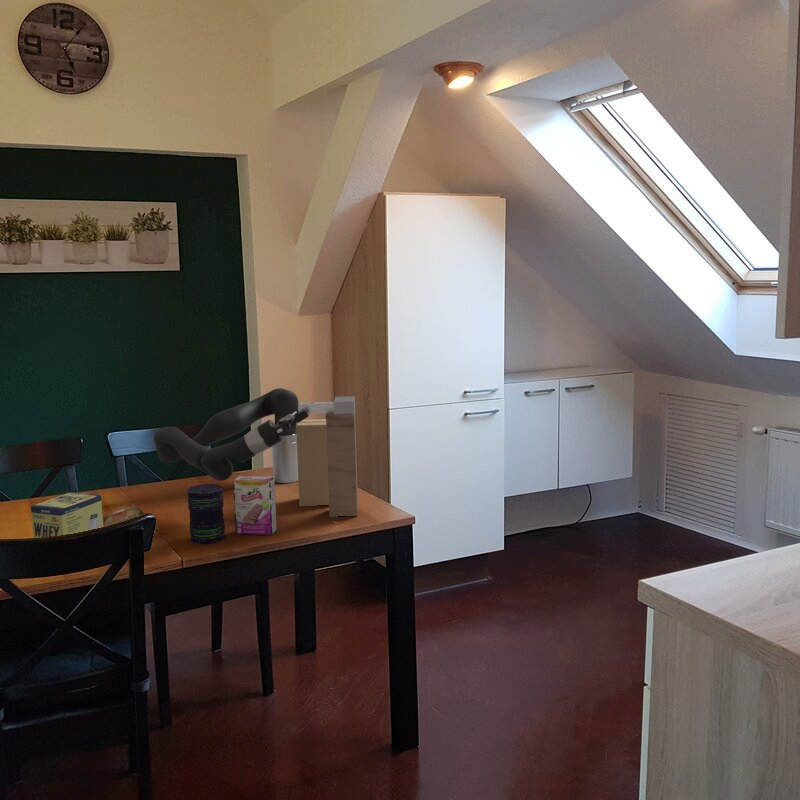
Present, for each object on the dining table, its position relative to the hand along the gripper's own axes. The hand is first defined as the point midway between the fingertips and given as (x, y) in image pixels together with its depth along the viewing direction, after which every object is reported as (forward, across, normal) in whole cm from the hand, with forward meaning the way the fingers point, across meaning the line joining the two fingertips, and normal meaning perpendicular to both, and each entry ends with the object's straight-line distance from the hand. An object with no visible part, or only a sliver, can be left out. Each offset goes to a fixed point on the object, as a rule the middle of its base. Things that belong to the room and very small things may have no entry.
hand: (308, 410), depth 255 cm
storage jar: (-41, +22, -15) cm, 48 cm away
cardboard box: (-15, -14, -29) cm, 36 cm away
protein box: (-71, +31, +2) cm, 78 cm away
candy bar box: (-29, +17, -21) cm, 40 cm away
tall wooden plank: (-8, 0, -33) cm, 34 cm away
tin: (-62, +18, -3) cm, 65 cm away
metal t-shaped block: (+4, 0, -3) cm, 5 cm away
